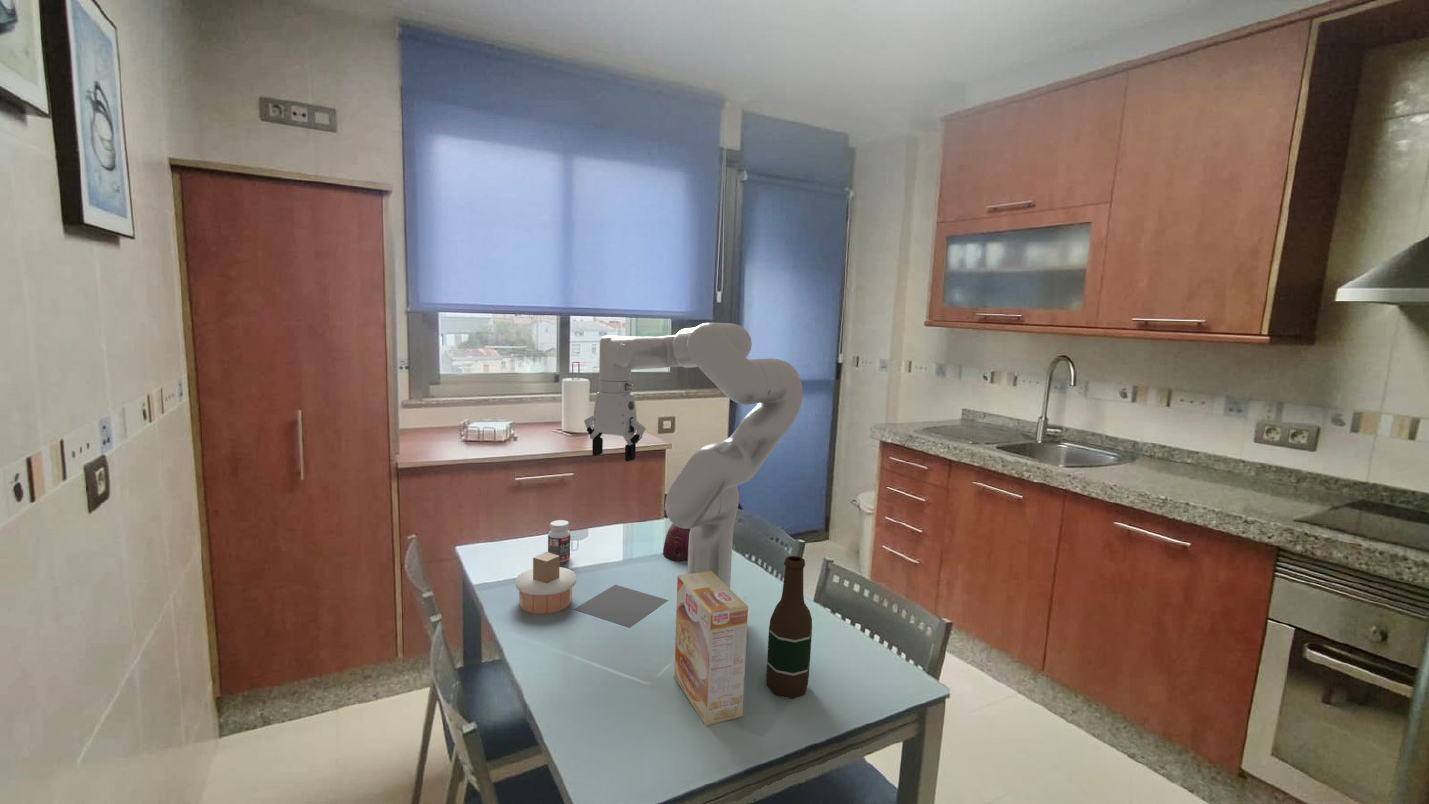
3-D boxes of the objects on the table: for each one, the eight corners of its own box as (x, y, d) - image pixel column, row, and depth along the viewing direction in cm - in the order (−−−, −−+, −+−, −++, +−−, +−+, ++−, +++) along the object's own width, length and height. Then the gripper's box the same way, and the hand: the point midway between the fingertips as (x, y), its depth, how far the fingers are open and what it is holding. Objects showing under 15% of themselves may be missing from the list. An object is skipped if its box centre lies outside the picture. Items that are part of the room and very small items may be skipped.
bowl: (581, 600, 141) (581, 579, 140) (547, 620, 131) (547, 597, 130) (544, 588, 146) (544, 568, 145) (509, 607, 136) (509, 585, 135)
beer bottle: (780, 669, 116) (788, 546, 113) (817, 685, 112) (825, 558, 108) (756, 687, 110) (763, 558, 107) (793, 705, 106) (802, 571, 102)
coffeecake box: (672, 676, 113) (676, 574, 110) (708, 669, 115) (712, 569, 113) (704, 727, 99) (709, 612, 96) (744, 717, 102) (750, 605, 99)
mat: (668, 602, 142) (668, 600, 142) (629, 629, 129) (629, 627, 129) (615, 586, 149) (615, 584, 149) (573, 611, 135) (573, 609, 135)
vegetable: (703, 564, 173) (720, 515, 171) (682, 571, 164) (700, 519, 162) (674, 546, 178) (691, 498, 176) (652, 552, 169) (669, 502, 167)
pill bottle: (564, 564, 160) (564, 527, 159) (543, 561, 162) (544, 525, 160) (573, 556, 166) (574, 520, 165) (553, 553, 167) (554, 518, 166)
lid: (588, 578, 141) (588, 553, 140) (547, 600, 129) (548, 573, 128) (544, 566, 146) (545, 541, 146) (502, 586, 135) (502, 559, 134)
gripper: (653, 389, 148) (651, 459, 150) (595, 383, 155) (594, 450, 158) (635, 392, 141) (634, 465, 143) (576, 385, 149) (575, 455, 151)
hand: (613, 457), depth 150 cm, fingers open, 9 cm apart
